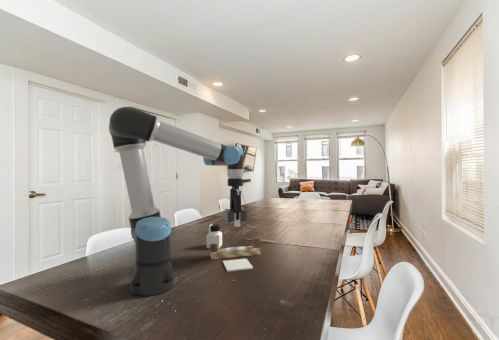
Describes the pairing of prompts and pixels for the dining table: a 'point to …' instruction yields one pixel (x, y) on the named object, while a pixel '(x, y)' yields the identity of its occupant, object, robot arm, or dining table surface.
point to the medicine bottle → (214, 235)
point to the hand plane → (235, 250)
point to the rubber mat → (237, 265)
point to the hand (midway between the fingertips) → (235, 224)
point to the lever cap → (230, 215)
